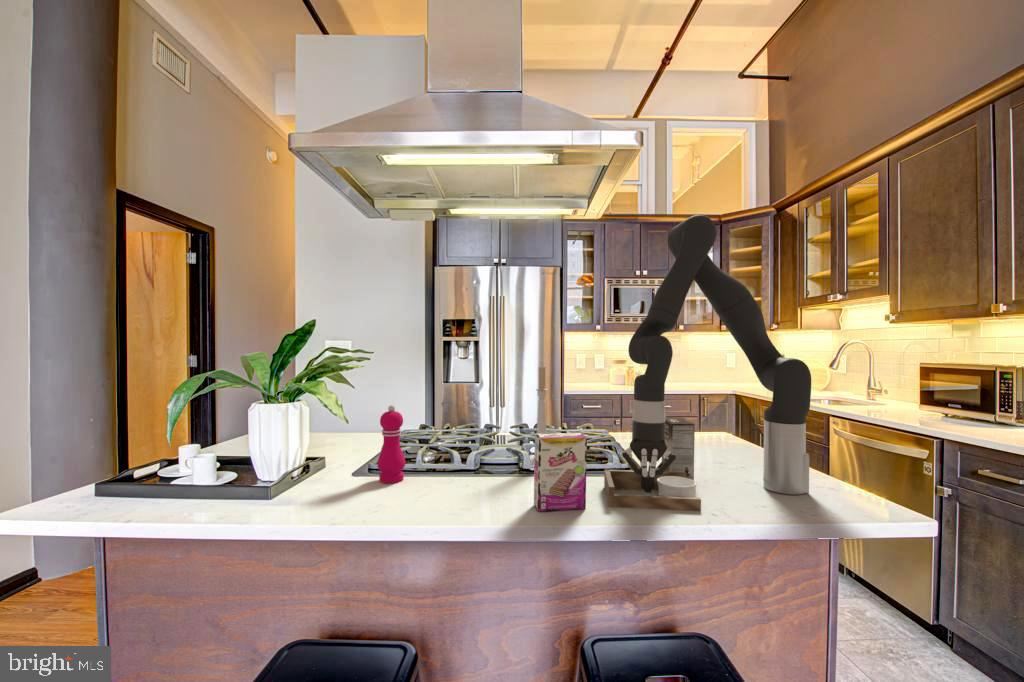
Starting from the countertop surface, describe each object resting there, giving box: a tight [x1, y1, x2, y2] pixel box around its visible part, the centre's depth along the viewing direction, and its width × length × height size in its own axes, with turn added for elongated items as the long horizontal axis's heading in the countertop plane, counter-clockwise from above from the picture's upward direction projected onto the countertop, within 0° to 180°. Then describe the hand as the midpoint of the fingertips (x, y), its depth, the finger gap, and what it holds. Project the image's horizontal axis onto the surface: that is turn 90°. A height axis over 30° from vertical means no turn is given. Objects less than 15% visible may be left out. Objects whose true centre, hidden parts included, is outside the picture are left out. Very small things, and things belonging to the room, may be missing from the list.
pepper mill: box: [377, 404, 406, 484], centre depth 128 cm, size 7×7×20 cm
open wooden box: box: [603, 469, 702, 511], centre depth 115 cm, size 20×14×4 cm
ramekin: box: [657, 476, 698, 498], centre depth 114 cm, size 9×9×4 cm
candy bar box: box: [533, 432, 588, 512], centre depth 108 cm, size 11×5×16 cm, turn 100°
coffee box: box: [661, 417, 696, 481], centre depth 130 cm, size 9×6×16 cm
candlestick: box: [519, 366, 549, 468], centre depth 143 cm, size 13×13×30 cm
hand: (647, 491), depth 115 cm, fingers closed
